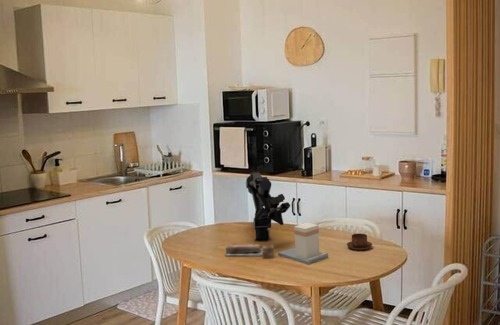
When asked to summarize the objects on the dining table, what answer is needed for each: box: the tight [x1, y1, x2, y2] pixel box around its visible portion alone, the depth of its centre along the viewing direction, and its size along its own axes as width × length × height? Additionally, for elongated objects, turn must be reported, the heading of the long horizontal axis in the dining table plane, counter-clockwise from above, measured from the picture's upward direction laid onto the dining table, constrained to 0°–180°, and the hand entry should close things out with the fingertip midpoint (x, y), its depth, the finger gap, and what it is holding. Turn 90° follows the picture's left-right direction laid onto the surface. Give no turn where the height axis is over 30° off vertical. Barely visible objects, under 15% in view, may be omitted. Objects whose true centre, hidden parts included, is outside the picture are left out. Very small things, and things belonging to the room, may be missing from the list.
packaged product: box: [224, 243, 263, 258], centre depth 275 cm, size 18×5×10 cm
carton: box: [294, 222, 320, 259], centre depth 264 cm, size 7×9×14 cm
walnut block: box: [262, 244, 275, 259], centre depth 269 cm, size 5×5×5 cm
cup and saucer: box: [346, 233, 373, 251], centre depth 276 cm, size 12×12×6 cm
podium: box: [277, 246, 329, 265], centre depth 267 cm, size 20×13×2 cm, turn 40°
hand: (282, 224), depth 278 cm, fingers closed
